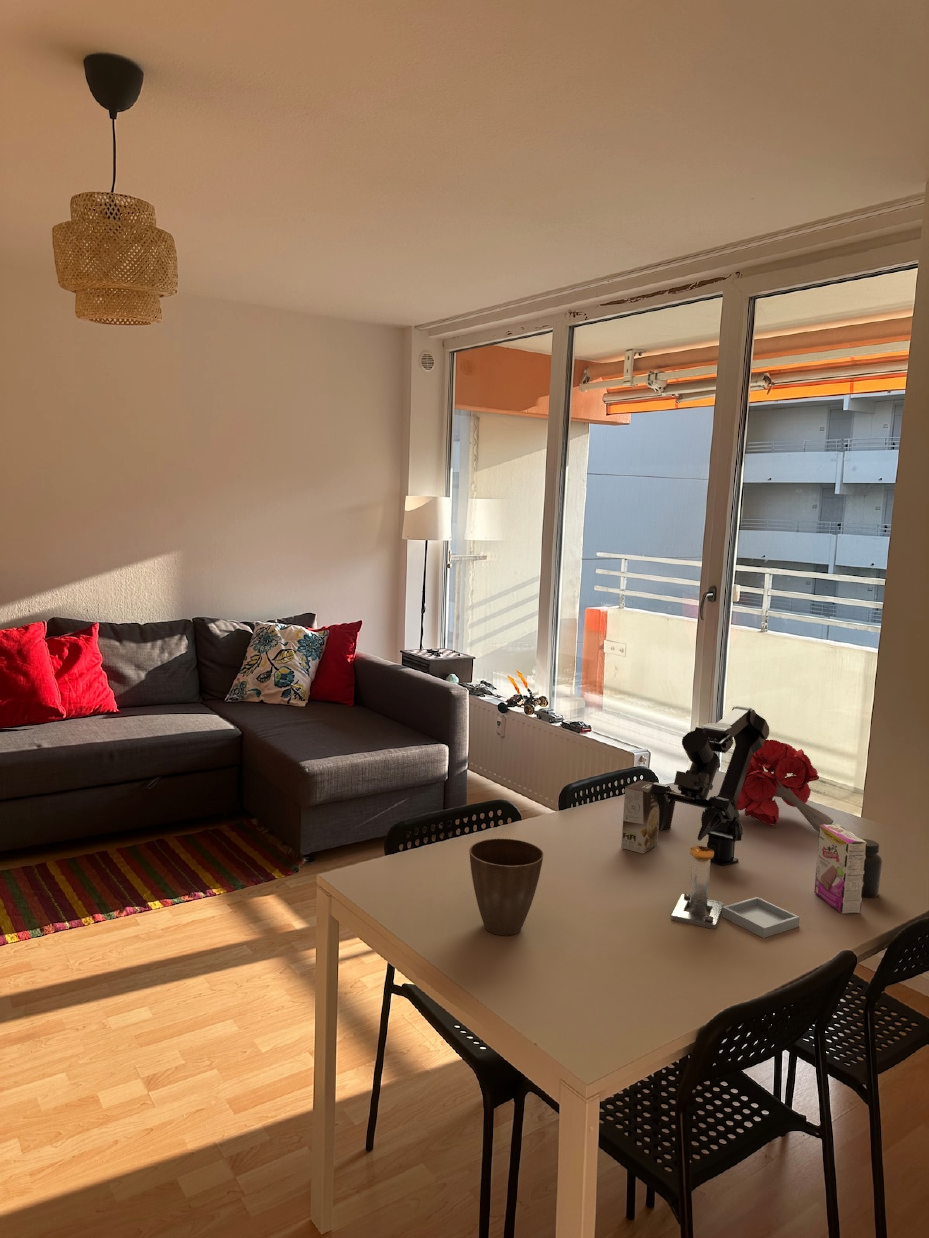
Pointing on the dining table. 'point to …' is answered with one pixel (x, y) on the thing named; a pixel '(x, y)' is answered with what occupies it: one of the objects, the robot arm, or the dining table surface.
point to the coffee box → (640, 818)
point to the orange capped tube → (700, 879)
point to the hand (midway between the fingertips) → (679, 834)
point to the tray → (760, 917)
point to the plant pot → (505, 882)
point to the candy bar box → (840, 868)
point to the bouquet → (779, 784)
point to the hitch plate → (697, 919)
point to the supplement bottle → (872, 870)
